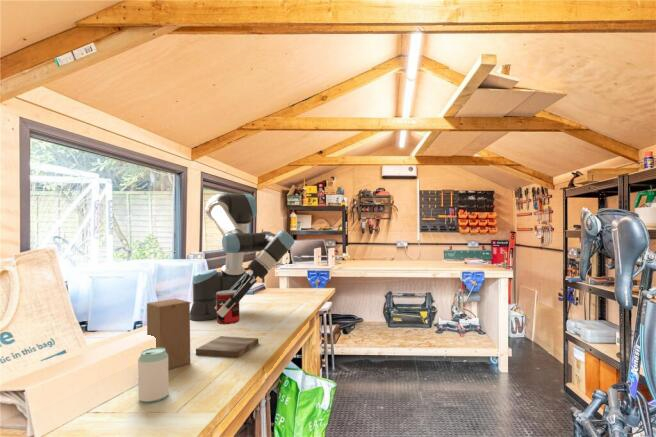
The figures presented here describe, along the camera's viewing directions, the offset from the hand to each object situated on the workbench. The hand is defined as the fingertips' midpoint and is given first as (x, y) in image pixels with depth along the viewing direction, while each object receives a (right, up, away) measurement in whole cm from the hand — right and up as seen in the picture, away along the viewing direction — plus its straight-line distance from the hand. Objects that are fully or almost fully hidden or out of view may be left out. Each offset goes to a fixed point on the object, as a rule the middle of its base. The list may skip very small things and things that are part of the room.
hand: (218, 312), depth 134 cm
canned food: (+3, -4, +1) cm, 5 cm away
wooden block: (-12, -14, -13) cm, 23 cm away
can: (-5, -13, -38) cm, 40 cm away
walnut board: (+3, -13, +1) cm, 14 cm away
